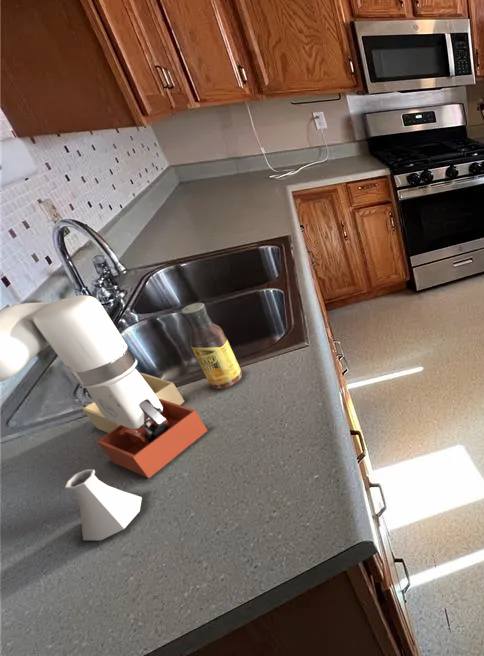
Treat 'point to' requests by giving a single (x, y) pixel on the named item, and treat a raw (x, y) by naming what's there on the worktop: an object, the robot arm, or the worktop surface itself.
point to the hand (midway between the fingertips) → (156, 440)
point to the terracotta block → (141, 435)
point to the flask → (102, 506)
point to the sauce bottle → (211, 348)
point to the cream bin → (158, 386)
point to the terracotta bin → (155, 441)
